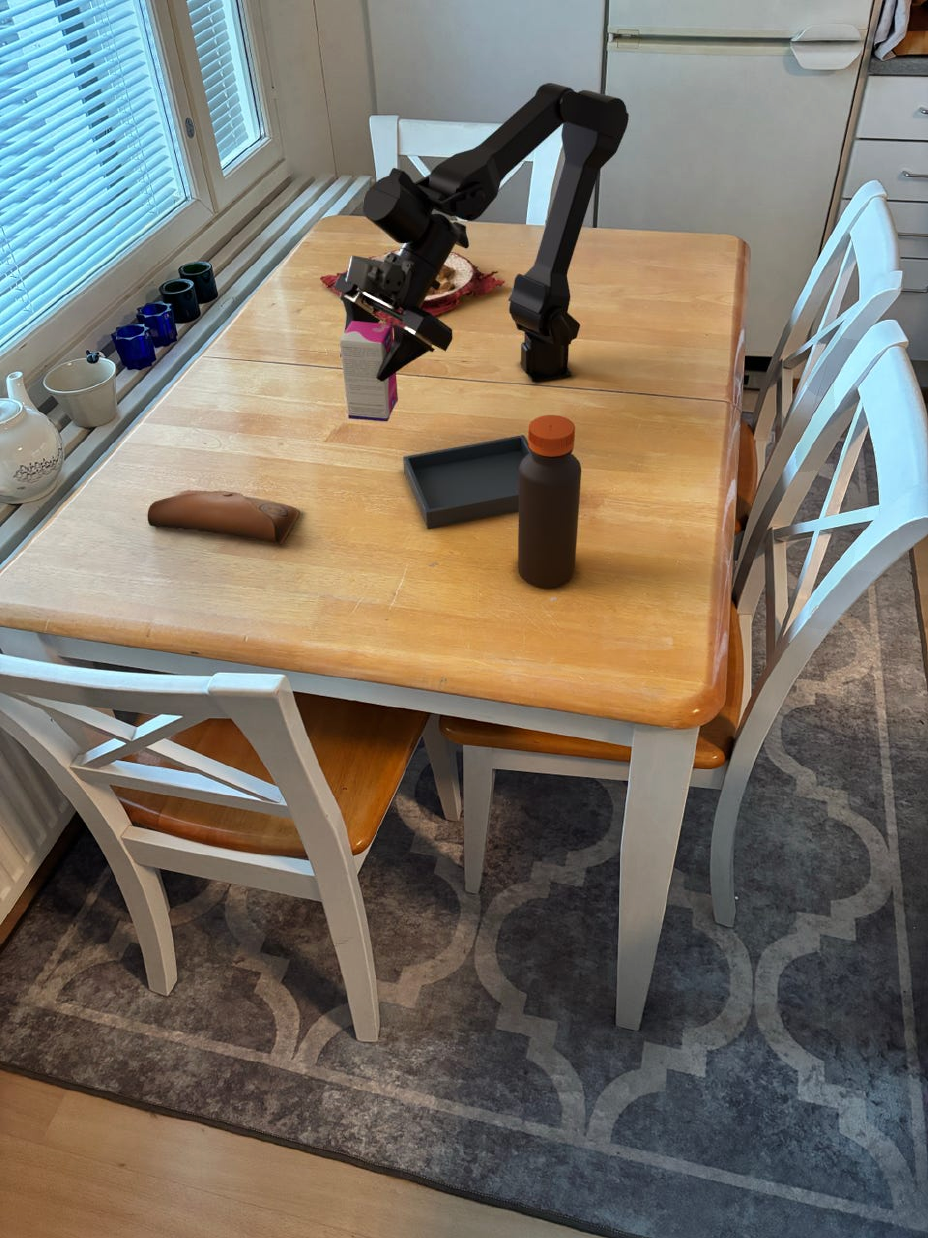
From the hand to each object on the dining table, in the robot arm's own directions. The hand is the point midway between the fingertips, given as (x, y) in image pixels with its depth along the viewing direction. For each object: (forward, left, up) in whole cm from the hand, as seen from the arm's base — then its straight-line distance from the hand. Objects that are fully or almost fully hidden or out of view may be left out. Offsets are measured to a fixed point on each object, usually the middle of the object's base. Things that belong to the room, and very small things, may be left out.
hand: (360, 369), depth 124 cm
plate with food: (-18, -52, -13) cm, 56 cm away
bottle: (-15, +31, -13) cm, 37 cm away
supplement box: (-1, -1, -7) cm, 7 cm away
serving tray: (-12, +12, -13) cm, 22 cm away
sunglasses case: (+21, +9, -13) cm, 27 cm away
